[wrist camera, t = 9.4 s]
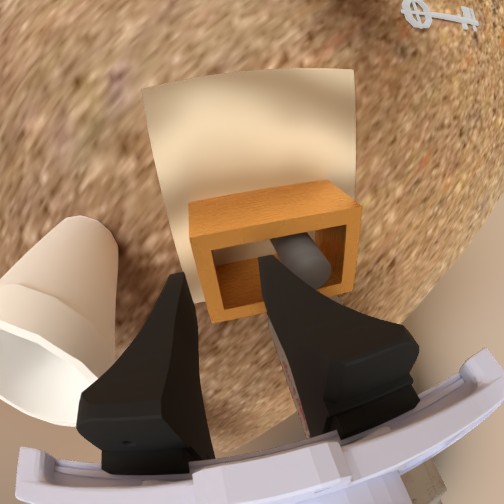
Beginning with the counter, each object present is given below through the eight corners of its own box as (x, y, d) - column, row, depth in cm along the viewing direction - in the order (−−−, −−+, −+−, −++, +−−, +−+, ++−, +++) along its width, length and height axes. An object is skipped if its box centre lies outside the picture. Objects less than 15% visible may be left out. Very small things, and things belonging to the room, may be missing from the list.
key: (392, -5, 14) (402, 28, 16) (399, -7, 13) (410, 27, 15) (469, 9, 14) (476, 36, 16) (476, 9, 13) (483, 36, 15)
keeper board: (341, 260, 27) (381, 314, 20) (191, 292, 25) (197, 360, 19) (343, 69, 17) (409, 71, 11) (144, 89, 16) (117, 89, 10)
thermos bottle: (275, 349, 32) (357, 583, 8) (260, 301, 27) (368, 606, 4) (340, 326, 32) (447, 540, 9) (338, 275, 28) (489, 539, 4)
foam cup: (31, 193, 17) (-66, 301, 6) (138, 200, 20) (94, 335, 9) (46, 290, 22) (0, 409, 11) (136, 300, 24) (124, 435, 14)
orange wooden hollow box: (205, 278, 23) (211, 323, 19) (188, 202, 19) (188, 238, 15) (325, 253, 24) (352, 290, 20) (327, 179, 20) (362, 206, 16)
